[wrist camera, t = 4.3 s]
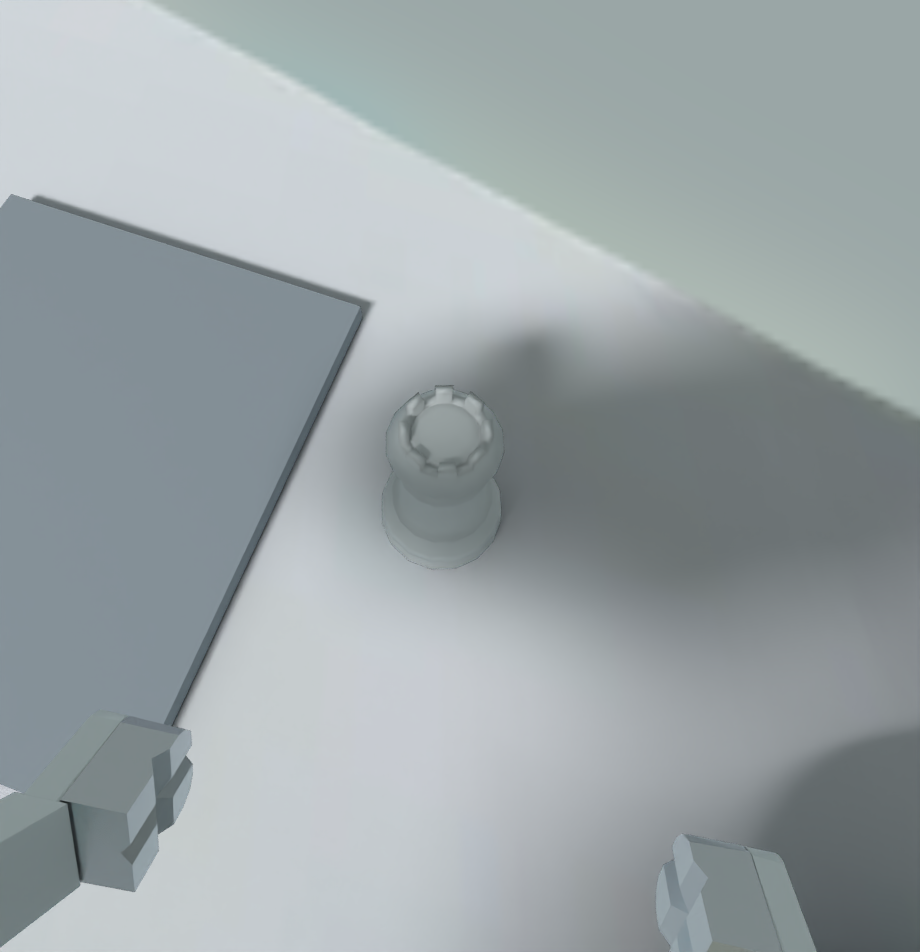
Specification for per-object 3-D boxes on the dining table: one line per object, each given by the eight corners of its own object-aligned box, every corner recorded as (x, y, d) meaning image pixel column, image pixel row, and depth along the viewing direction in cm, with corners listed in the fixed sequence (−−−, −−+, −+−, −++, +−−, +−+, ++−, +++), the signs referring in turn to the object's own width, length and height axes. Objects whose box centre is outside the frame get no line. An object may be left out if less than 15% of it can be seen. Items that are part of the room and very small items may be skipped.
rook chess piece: (426, 596, 23) (424, 545, 15) (359, 500, 24) (325, 408, 16) (523, 527, 24) (566, 447, 16) (454, 438, 25) (464, 324, 17)
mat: (125, 824, 20) (113, 829, 19) (-308, 653, 21) (-336, 651, 20) (362, 317, 27) (360, 306, 26) (22, 207, 28) (11, 194, 27)
